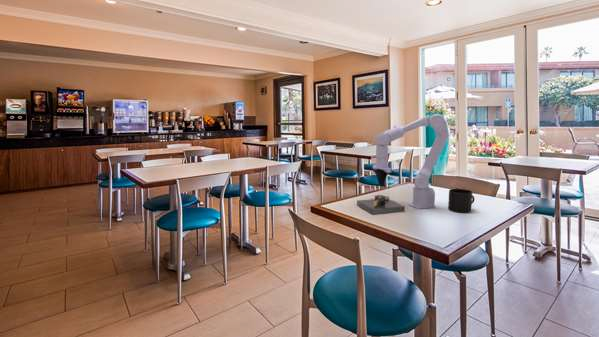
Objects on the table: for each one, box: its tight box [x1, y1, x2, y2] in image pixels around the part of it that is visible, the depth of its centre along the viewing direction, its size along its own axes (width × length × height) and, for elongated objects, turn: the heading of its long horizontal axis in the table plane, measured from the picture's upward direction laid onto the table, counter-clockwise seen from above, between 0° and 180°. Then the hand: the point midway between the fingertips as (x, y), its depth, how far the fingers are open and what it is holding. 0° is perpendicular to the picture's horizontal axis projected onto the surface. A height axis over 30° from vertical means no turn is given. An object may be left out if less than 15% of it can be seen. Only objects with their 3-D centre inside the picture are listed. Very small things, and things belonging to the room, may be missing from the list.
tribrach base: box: [356, 196, 406, 215], centre depth 151 cm, size 16×16×4 cm
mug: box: [448, 188, 475, 214], centre depth 146 cm, size 9×12×9 cm
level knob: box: [374, 194, 386, 206], centre depth 148 cm, size 10×5×3 cm, turn 149°
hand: (381, 184), depth 158 cm, fingers closed
